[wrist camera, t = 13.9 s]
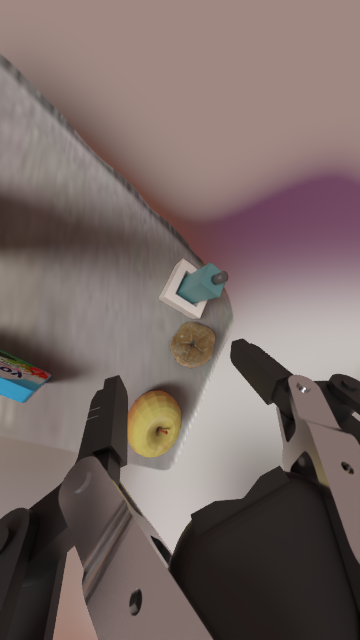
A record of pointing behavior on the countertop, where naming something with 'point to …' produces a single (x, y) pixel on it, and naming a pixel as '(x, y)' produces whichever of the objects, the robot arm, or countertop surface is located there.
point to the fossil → (192, 344)
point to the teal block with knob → (202, 284)
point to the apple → (153, 423)
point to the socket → (171, 287)
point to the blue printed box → (19, 378)
